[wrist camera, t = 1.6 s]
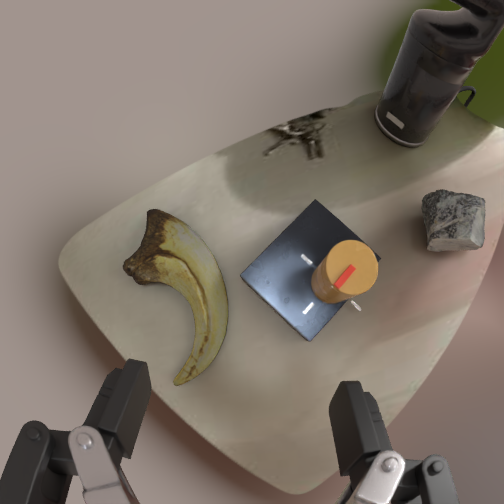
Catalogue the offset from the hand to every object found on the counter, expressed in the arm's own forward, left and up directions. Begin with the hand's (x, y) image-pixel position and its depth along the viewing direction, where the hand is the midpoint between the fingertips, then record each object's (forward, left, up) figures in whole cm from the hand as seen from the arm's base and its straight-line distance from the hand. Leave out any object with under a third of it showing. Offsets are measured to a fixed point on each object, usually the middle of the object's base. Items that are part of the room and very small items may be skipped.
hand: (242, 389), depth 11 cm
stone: (-26, +8, -20) cm, 34 cm away
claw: (+2, -11, -20) cm, 23 cm away
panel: (-10, -2, -20) cm, 23 cm away
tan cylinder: (-10, +1, -18) cm, 20 cm away
